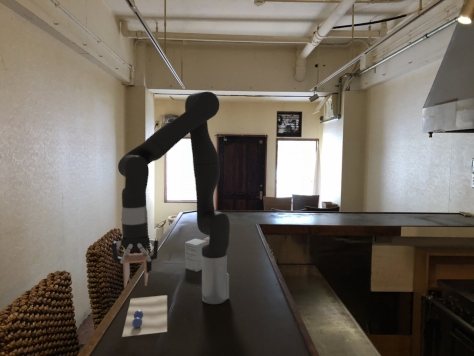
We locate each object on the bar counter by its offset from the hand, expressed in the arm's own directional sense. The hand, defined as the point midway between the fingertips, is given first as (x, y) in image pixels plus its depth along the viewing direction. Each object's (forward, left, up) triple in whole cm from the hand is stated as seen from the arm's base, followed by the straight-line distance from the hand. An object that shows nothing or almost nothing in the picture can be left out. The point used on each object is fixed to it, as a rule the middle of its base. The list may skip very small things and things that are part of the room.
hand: (136, 272), depth 101 cm
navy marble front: (+1, +2, -15) cm, 15 cm away
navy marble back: (-1, -2, -15) cm, 15 cm away
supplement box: (-36, -34, -18) cm, 53 cm away
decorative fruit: (-51, -48, -18) cm, 73 cm away
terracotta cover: (0, 0, -2) cm, 2 cm away
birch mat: (-4, -4, -18) cm, 19 cm away
